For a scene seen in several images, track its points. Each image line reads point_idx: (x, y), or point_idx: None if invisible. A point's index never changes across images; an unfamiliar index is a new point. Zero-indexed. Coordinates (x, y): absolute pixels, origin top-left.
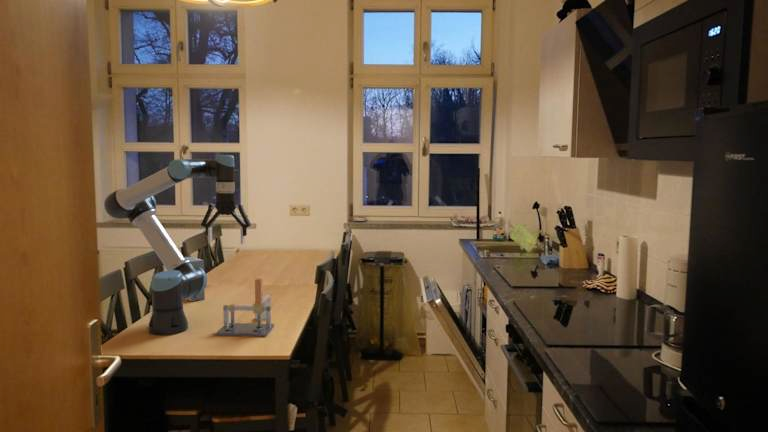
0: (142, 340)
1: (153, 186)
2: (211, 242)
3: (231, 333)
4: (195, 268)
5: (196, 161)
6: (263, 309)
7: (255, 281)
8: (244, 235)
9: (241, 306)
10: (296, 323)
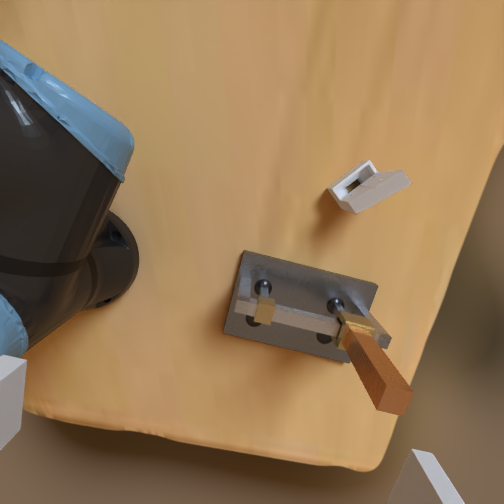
0: None
1: None
2: (20, 391)
3: (262, 341)
4: (24, 146)
5: None
6: None
7: (376, 405)
8: None
9: (295, 325)
10: (442, 263)
